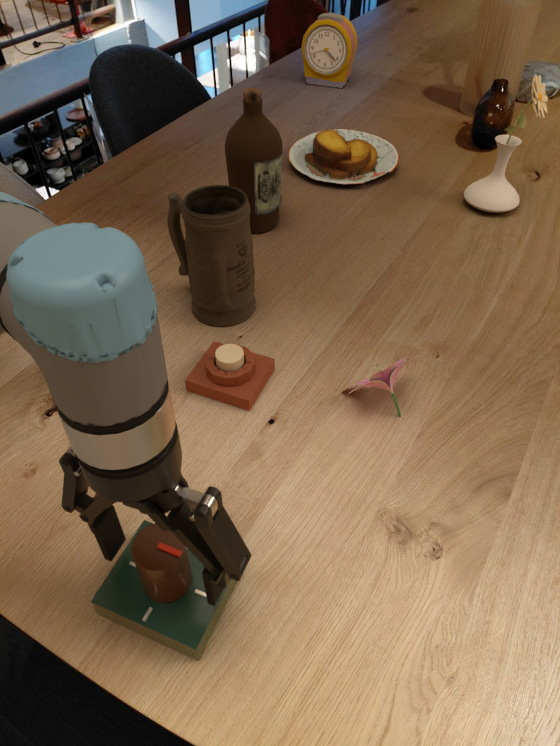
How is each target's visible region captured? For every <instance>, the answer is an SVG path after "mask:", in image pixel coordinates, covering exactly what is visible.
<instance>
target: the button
mask: <svg viewBox="0 0 560 746" xmlns="http://www.w3.org/2000/svg"><path fill="white" fill-rule="evenodd" d="M223 344H224V345H222V346H220V347H219V348H217V350H216V352H215V359H216V365H217V367H218V368H219V369H220V370H222V371H225V372H232V371H237V370H239V369H240V368H241V367H242V366H243V364H244V351H243V349H242V348H241V347H240V346H238V345H239V344H237V343H223ZM236 344H237V345H236Z"/></svg>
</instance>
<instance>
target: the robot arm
mask: <svg viewBox="0 0 560 746" xmlns="http://www.w3.org/2000/svg"><path fill="white" fill-rule="evenodd" d="M153 290H154V286H153V283H152V280H151V279H150V278H149V274H148V269H147V266H146V261H145V258H144V255H143V253H142V249H141V248H140V246H139V245H138V243H137V242H136V241H135V240H134V239H133V238H132V237H131V236H130V235H128V234H127V233H125V232H124V231H122V230H120V229H118V228H115V227H111V226H107V227H99V226H98V225H97V224H96V223H93V222H71V223H64V224H59V225H57V224H55V223H54V221H53V220H52V219H51V218H50V217H49V216H48V215H46V214H45V213H44V212H43V211H41V210H40V209H38V208H36V207H35V206H33V205H31V204H28V203H27V202H25V201H24V200H20V199H19V198H17V197H15V196H14V195H11V194H9V193H7V192H5V191H4V192H3V191H0V335H2V334H4V333H7V334H8V336H10V337H11V338H12V339H13V340H15V341H16V342H17V343H18V345H20V346H21V347H22V348H23V349H24V350H25V351H26V352H27V354H28V355H30V357H31V358H32V359H33V360H34V362H35V364H36V365H37V367H38V369H39V370H40V372H41V374H42V377H43V379H44V381H45V383H46V385H47V388H48V390H49V392H50V395H51V397H52V399H53V402H54V405H55V407H56V411H57V414H58V417H59V419H60V422H61V424H62V427H63V430H64V433H65V435H66V437H67V441H68V442H69V447H68V448H67V450H66V451H65V452H64V453H63V454H62V456H61V457H60V458H59V459H58V463H59V465H60V468H61V470H62V472H63V474H64V475H63V481H62V482H63V484H62V496H61V508H62V509H63V510H64V511H65V512H67V513H70V514H72V513H73V512H74V511H76V512H77V513H79V516H78V517H79V518H80V520H81V521H82V522H84V523H86V524H87V526H88V527H89V531H90V532H91V533H92V534H93V535H94V537H95V540H96V542H97V545H98V547H99V549H100V552H101V554H102V555H103V556H102V557H103V558H104V560H106V561H108V562H112V561H113V560H114V558H115V557H116V555H117V553H119V551H120V549H121V547H122V546H123V545H124V543H125V541H126V540H127V538H126V536H125V532H124V530H123V527H122V524H121V521H120V519H119V516H118V513H117V511H116V508H115V506H114V504H116V503H122V505H123V506H125V507H127V508H131V509H135V510H138V511H139V512H140V513H141V514H143V515H147V516H148V517H149V518H150V520H152V521H153V522H154V523H156V524H157V525H158V526H159V527H160V528H161V530H163V531H171V532H172V533H173V534H174V535H175V536H176V537H177V538H178V539H179V540H180V541H181V542H182V543H183V544H184V545H185V546H186V547H187V548H188V549H189V551H190V552H191V553H192V554H193V555H194V556H195V557H196V558H197V559H198V560H199V561H200V562H201V563H202V564H203V565H204V566H205V568H204V570H203V571H202V576H203V581H204V586H205V591H206V597H207V602H208V604H210V605H213V606H215V605H216V603H217V601H218V599H219V597H220V595H221V593H222V591H223V589H224V588H226V587H227V585H228V583H229V581H230V579H232V580H235V581H237V582H240V581H241V579H242V577H243V575H244V573H245V571H246V569H247V567H248V565H249V562H250V560H251V558H252V553H251V551H250V549H249V548H248V546H247V544H246V543H245V541H244V539H243V537H242V536H241V534H240V532H239V530H238V529H237V527H236V526H235V523H234V522H233V520H232V518H231V516H230V515H229V513H228V512H227V510H226V508H225V507H224V505H223V504H224V502H223V495H222V492H221V490H220V489H219V488H218V487H215V486H210V485H209V486H208V487H207V489H206V490H205V492H201V491H199V490H196V489H193V488H191V487H190V486H189V483H188V481H187V480H186V478H185V477H184V476H183V473H182V463H183V450H182V445H181V444H182V443H181V438H180V434H179V429H178V428H179V427H178V424H177V421H176V415H175V409H174V405H173V399H172V394H171V389H170V383H169V379H168V370H167V364H166V358H165V351H164V346H163V340H162V339H163V338H162V334H161V327H160V321H159V315H158V302H157V295H156V292H154V291H153ZM89 490H92V491H93V492H94V495H93V496H91V495H89V494H88V493H89ZM167 513H168V514H167ZM166 514H167V515H166Z"/></svg>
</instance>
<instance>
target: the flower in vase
mask: <svg viewBox="0 0 560 746" xmlns="http://www.w3.org/2000/svg"><path fill="white" fill-rule="evenodd" d="M530 91H531V99H530V100H529V101H528V102H527V103H526V104H525V106H523V108H522V110H520V112H519V114H518V116H517V118H516V120H515V122H514V124H513V125H512V124H510V125H509V126H508V127H507V128H503V130H504V131H507V132H510V133H509V134H498V135H497V136H495V137H494V141H495V142H496V146H497V154H496V158H495V159H496V160H495V164H494V167H493V170H492V172H491V173H490V174H489V175H487V176H485V177H483V178H480V179H478V180H476V181H474V182H472V183H471V184H469V185H468V186H467V187H466V188H465V189H464V191H463V197H464V199H465V201H466V203H467V204H469V205H470V206H471V207H473V208H475V209H477V210H480V211H483V212H487V213H496V214H497V213H498V214H499V213H507V212H510V211H513V210H514V209H515V208H517V207H518V206H519V205H520V201H521V200H520V195H519V193H518V192H517V190H516V188H515V187H514V186H513V185H512V184H511V182H509V180H508V179H507V178H506V169H507V166H508V163H509V160H510V158H511V156H512V154H513V152H514V151H515V150H516V149H517V148H518V147H519V146H520V145H521V144H522V142H523V141H522V139H521V138H519V137H518V136H515V135H513V132H515V131H518V130H519V129H525V127H526V126H527V116H526V115H525V114H523V113H524V111H525V110H526V109H527V108H528V107H529V106H530V104H531V103H532V108H533V111H534V113H535V117H536V118H538V119H539V120H542V119H543V120H545V114H548V104H547V102H548V101H549V96H548V95H547V94H546V93H547V92H546V82H542V76H541V74H539V75H537V74H535V75H534V76H533V78H532V83H531V90H530ZM516 125H518V127H519V128H517V127H516Z"/></svg>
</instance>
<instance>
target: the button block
mask: <svg viewBox="0 0 560 746" xmlns="http://www.w3.org/2000/svg"><path fill="white" fill-rule="evenodd" d="M224 344H225V343H222V342H219V341H215V340H213V341H212V343H211V344H210V346H209V347H208V348H207V349H206V351H205V352H204V353H203V355H202V356H201V357H200V359H199V360H198V362H197V363H196V365H195V366H194V367H193V368H192V369H191V371H190V372H189V374H188V375H187V376H186V377H185V378H184V384H185V390H186V391H187V392H189V393H193V394H194V395H195V394H196V395H198V396H202V397H205V398H208V399H211V400H214V401H217V402H221V403H224V404H226V405H229V406H231V407H232V406H233V407H236V408H239V409H242V410H244V411H245V410H246V411H248V412H250V411H251V409H252V408H253V406H254V404H255V403H256V401H257V400H258V398H259V396H260V395H261V393H262V392H263V390H264V388H265V386H266V385H267V383H268V381H269V379H270V378H271V377H272V375H273V373H274V371H275V370H276V368H275V366H276V364H275V360H276V359H275V358H273V357H269V356H266V355H262V354H259V353H255V352H252V351H251V350H250V349H249V348H248V347H247V346H244V345H240V344H237V343H235V344H236V345H238V346H240V347H241V348H242V349H243V351H244V364H243V366H242V367H241V368H240V369H239V370H237V371H232V372H225V371H222V370H220V369H219V368H218V367H217V365H216V359H215V352H216V350H217V348H219V347H220V346H222V345H224Z"/></svg>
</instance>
